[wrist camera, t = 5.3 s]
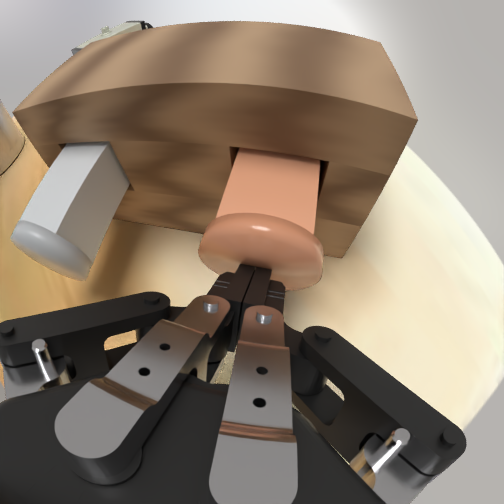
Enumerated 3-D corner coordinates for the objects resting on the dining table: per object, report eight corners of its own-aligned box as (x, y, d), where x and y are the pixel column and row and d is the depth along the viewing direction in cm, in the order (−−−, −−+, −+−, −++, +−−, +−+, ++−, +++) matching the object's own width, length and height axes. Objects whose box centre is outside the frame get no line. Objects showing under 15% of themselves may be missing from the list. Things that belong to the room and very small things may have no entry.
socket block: (85, 214, 23) (12, 112, 11) (128, 140, 27) (90, 42, 15) (342, 258, 20) (418, 120, 9) (344, 164, 25) (380, 42, 13)
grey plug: (46, 269, 16) (-4, 230, 10) (107, 152, 20) (83, 103, 15) (102, 288, 15) (48, 246, 10) (162, 154, 20) (143, 96, 15)
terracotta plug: (208, 278, 15) (185, 224, 10) (249, 143, 20) (247, 80, 15) (309, 297, 15) (336, 251, 10) (323, 154, 19) (337, 93, 14)
